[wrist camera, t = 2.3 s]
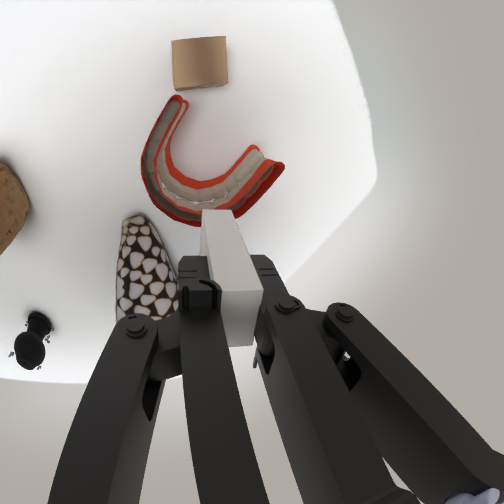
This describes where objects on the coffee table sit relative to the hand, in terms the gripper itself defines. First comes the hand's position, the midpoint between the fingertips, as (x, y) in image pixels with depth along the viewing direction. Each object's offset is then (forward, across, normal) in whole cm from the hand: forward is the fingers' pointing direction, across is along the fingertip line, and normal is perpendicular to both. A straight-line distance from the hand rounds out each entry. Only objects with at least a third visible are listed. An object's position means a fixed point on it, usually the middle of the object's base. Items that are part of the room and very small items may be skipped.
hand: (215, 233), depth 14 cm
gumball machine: (+19, -28, -26) cm, 43 cm away
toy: (+19, 0, 0) cm, 19 cm away
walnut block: (+19, -1, +11) cm, 22 cm away
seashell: (+19, -8, -16) cm, 26 cm away
